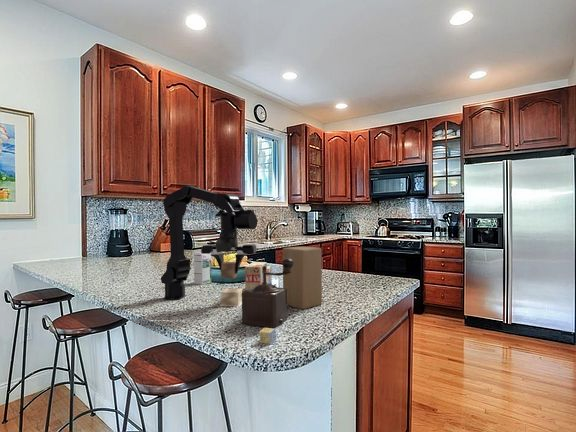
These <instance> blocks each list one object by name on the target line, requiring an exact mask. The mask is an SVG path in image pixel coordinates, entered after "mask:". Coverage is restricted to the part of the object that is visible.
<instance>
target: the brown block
mask: <svg viewBox="0 0 576 432" xmlns="http://www.w3.org/2000/svg"><path fill="white" fill-rule="evenodd" d="M235 266H236V261H224V262H223V263H222V266H221V270H220V278H223V279H236V277H237V275H238V273H237V274H236V273H235Z"/></svg>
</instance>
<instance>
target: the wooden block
mask: <svg viewBox="0 0 576 432" xmlns="http://www.w3.org/2000/svg"><path fill="white" fill-rule="evenodd" d="M286 258H287V259H291V260H293V266H292V268H291V273H288V274H287V275H285V274H284V275H282V288H287V307H292V308H297V309H301V310H306V309H309V308H312V307H316V306H320V305H322V304H323V287H322V286H323V282H322V281H323V280H322V279H323V278H322V277H323V273H322V272H323V271H322V269H323V267H322V265H323V263H322V248H321V247H313V246H301V245H300V246H293V247H292V246H291V247H290V246H289V247H283V248H282V261H283V260H284V259H286ZM283 270H284V268H283V267H282V271H283Z"/></svg>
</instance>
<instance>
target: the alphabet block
mask: <svg viewBox="0 0 576 432" xmlns="http://www.w3.org/2000/svg"><path fill="white" fill-rule="evenodd" d="M276 335H277V332H276V328H274V329H272V328H262V329H261V330H259V343H260V344H267V345H272V344H273V343H275V341H277V336H276Z"/></svg>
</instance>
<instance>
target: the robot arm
mask: <svg viewBox="0 0 576 432" xmlns="http://www.w3.org/2000/svg"><path fill="white" fill-rule="evenodd" d="M193 199H197V200H201V201H204V202H206V203H207V202H208V203H210V204H212V205H213V206H214V207H216V208H217V209H219V210H218V212H217V213H216V214H215V217H217V218H218V217H219V218H220V232H219V238H218V239H217V240H216V241H215V243H214V244H204V245H202V247H201V248H200V253H201V254H210V253H211V257H213V258H214V259H215V260H216V262H217V264H218V267H219V269H220V270H219V271H221V266H222V263H223V262H225V260H224V259H225V258H224V257H225V255H224V253H231V252H232V253H233V252H236V253H237V254H234V255H235V256H234V257H235V262H236V266H235V273H236V274H237V275H238V272H239V270H240V266H241V263H242V261H243V259H244V257H245V256H246V255H248V254H250V255H251V254H256V253H257V252H258V251H257V250H258V249H257V245H256V244H254V243H252V244H251V243H249V244H243V245H242V246H241V245H239V242H238V235H239V234H238V233H239V232H238V230H255V229H256V228H257V226H258V218H257V215H256V214H255V210H254V209H245V208H244V206H243V205H242V204H241V202H240V198H239V197H238V195H236V194H232V193H224V192H223V193H220V192H219V193H218V192H214V191H210V190H206V189H203V188H199V187H196V186H195V185H188V184H185V185H183V186H182V187H181V188H179V189H178V190H175V191H173V192H171V193H170V194H167V195H166V196H165V198H163V202H162V203H163V204H162V205H163V208H164V212H165V214H166V216H167V217H168V220H169V221H168V223H169V246H170V247H169V248H170V249H169V250H170V257H169V259H168V261H167V262H166V269H165V270H166V271H165V272H164V273H163V274H162V276H160V281H161V284H164V297H163V298H162V299H163V300H181V299H182V298H184V297H186V286H185V283H184V282H185V281H187V279H188V276H189V274H190V272H191V271H190V270H191V269H192V267H191V259H190V258H187V257H186V255H185V246H184V245H185V244H184V243H185V241H184V222H183V218H184V216H185V214H186V212H187V207H188V205H189V204H190V203H191V202H192V200H193Z"/></svg>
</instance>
